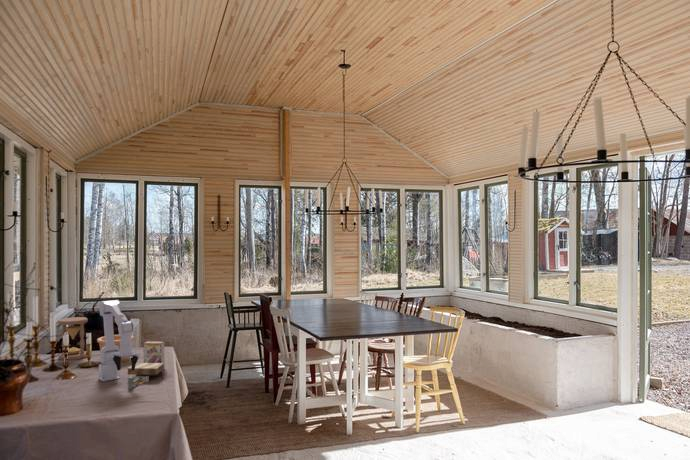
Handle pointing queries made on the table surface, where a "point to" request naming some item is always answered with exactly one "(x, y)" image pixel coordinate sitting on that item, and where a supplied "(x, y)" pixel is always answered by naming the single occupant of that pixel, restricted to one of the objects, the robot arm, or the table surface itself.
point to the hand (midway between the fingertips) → (126, 370)
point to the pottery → (116, 342)
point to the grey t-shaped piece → (136, 380)
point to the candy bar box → (154, 352)
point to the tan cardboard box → (147, 369)
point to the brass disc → (140, 382)
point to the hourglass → (73, 330)
